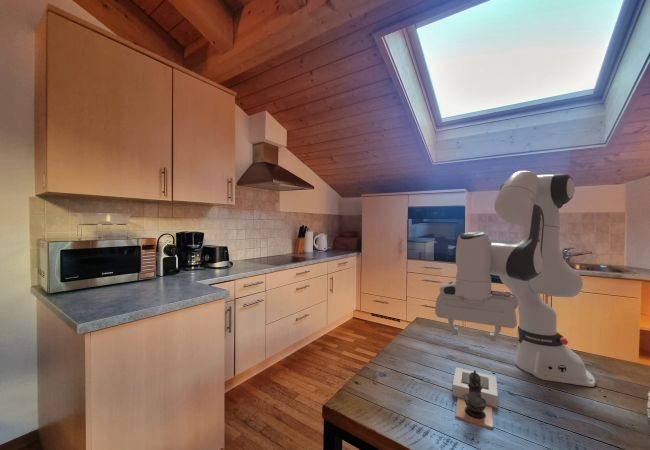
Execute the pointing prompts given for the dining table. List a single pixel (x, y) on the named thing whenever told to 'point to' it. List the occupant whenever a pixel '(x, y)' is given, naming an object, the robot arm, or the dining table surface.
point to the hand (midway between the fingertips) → (473, 337)
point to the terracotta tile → (464, 416)
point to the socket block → (486, 382)
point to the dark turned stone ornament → (475, 397)
